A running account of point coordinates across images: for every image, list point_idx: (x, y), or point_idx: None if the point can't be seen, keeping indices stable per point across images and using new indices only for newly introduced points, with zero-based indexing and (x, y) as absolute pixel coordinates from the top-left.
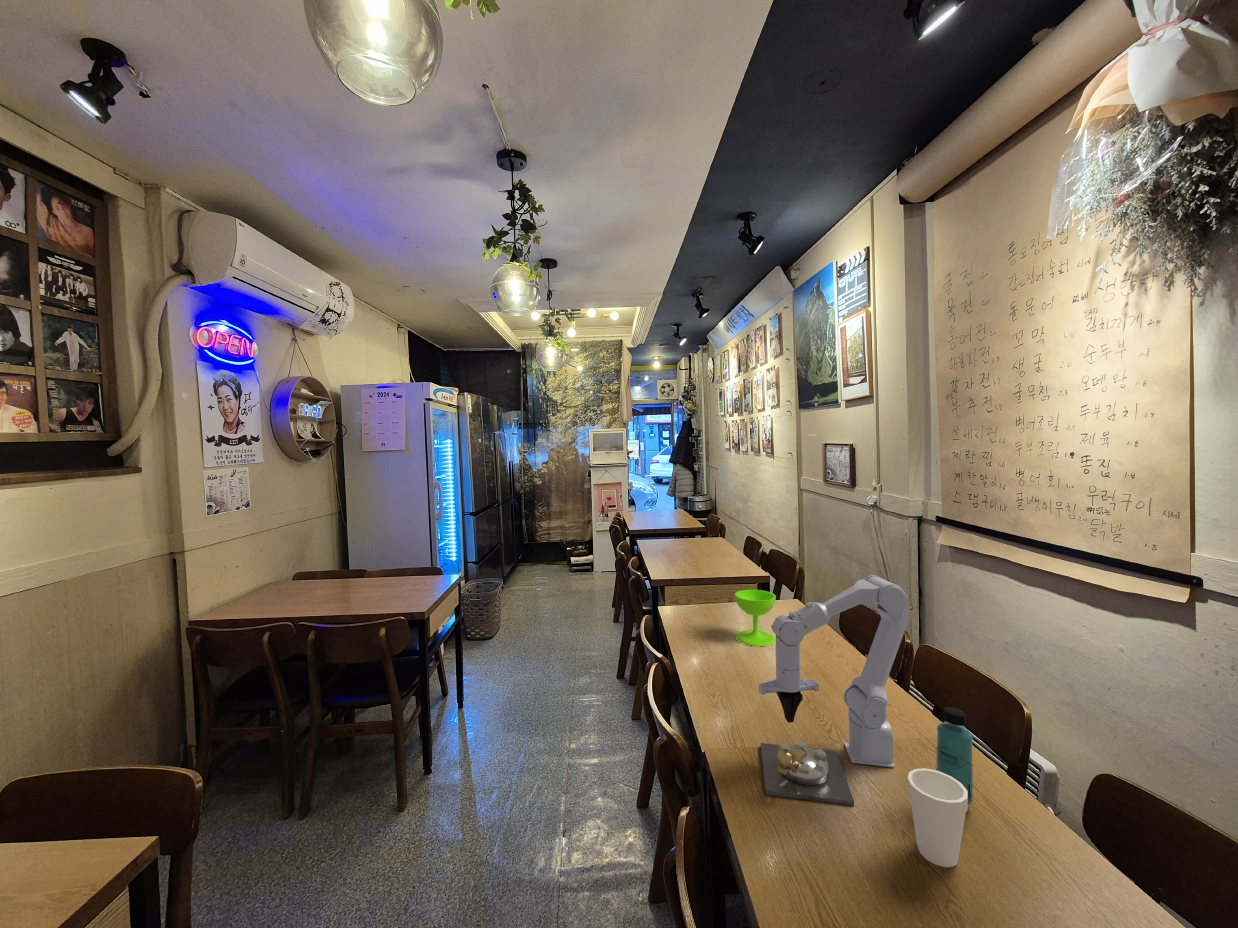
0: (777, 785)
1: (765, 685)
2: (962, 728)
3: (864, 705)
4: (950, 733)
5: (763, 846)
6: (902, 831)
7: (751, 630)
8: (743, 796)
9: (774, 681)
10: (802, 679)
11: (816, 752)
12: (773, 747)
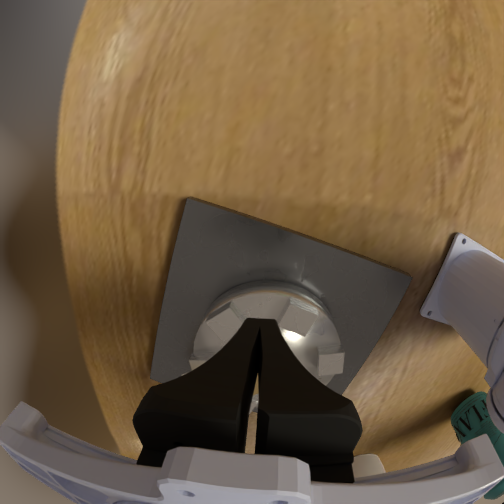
0: (178, 373)
1: (38, 473)
2: None
3: None
4: (489, 498)
5: (134, 433)
6: None
7: None
8: (111, 362)
9: (99, 478)
10: (440, 501)
11: (318, 362)
12: (222, 231)
